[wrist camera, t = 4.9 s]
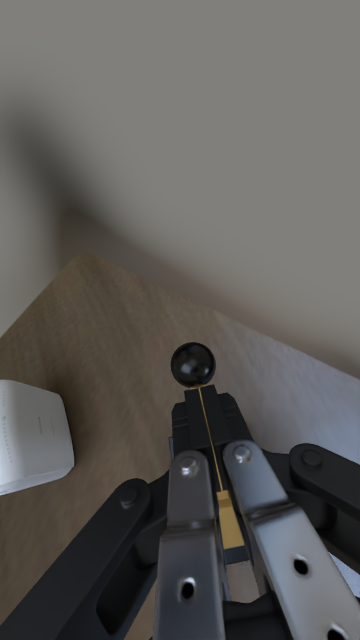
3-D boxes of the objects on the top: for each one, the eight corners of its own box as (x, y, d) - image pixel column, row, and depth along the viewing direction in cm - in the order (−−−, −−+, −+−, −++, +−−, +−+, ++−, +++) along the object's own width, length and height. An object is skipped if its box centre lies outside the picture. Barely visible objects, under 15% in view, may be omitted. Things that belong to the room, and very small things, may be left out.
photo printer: (80, 470, 30) (5, 487, 19) (46, 486, 29) (-52, 514, 18) (64, 390, 34) (-4, 366, 23) (34, 403, 34) (-50, 385, 23)
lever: (167, 344, 19) (164, 350, 16) (207, 336, 19) (213, 340, 16) (204, 518, 19) (209, 559, 16) (244, 510, 19) (257, 549, 16)
